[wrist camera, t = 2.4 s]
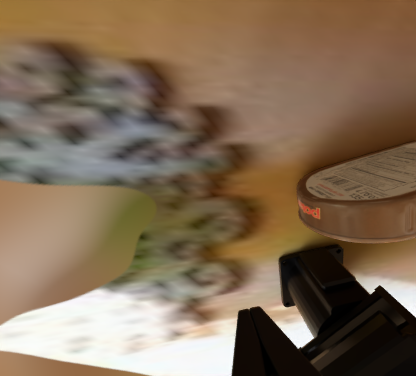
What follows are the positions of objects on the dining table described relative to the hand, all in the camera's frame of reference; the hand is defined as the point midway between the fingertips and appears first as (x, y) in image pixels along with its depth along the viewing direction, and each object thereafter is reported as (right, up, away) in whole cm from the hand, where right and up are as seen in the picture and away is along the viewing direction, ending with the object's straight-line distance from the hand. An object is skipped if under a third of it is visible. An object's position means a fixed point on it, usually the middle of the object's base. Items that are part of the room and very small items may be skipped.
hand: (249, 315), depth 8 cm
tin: (+12, +7, +11) cm, 18 cm away
